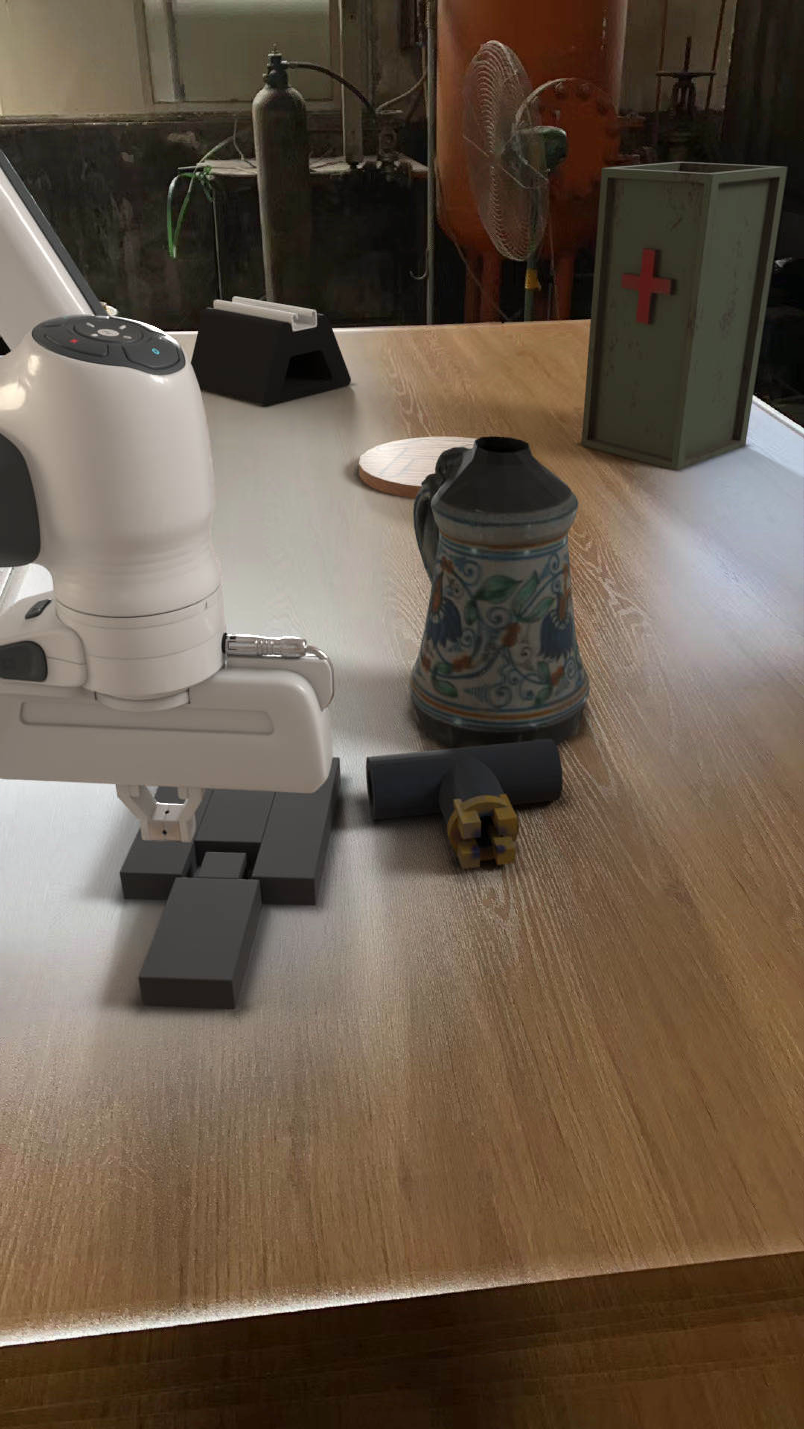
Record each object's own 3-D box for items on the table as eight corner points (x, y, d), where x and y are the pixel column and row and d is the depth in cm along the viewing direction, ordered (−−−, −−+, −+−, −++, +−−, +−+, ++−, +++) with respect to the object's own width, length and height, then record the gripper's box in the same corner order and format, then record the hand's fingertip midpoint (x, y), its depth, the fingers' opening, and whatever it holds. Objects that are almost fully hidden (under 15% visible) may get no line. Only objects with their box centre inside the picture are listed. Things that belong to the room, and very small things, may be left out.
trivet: (342, 495, 155) (342, 482, 154) (377, 445, 176) (376, 433, 175) (518, 504, 151) (518, 491, 150) (531, 451, 172) (532, 440, 171)
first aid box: (581, 445, 175) (601, 168, 155) (650, 423, 186) (678, 161, 166) (676, 470, 163) (712, 174, 143) (745, 446, 174) (787, 166, 154)
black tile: (142, 1006, 70) (137, 977, 68) (189, 877, 81) (185, 850, 79) (235, 1009, 69) (232, 980, 68) (269, 880, 80) (266, 853, 79)
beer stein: (545, 778, 92) (564, 491, 79) (349, 722, 100) (338, 455, 87) (612, 694, 104) (637, 434, 92) (432, 651, 112) (433, 407, 100)
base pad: (123, 899, 79) (119, 872, 77) (177, 777, 92) (173, 752, 91) (316, 906, 78) (314, 878, 77) (340, 781, 92) (339, 756, 90)
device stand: (262, 407, 198) (256, 320, 190) (187, 387, 211) (178, 306, 204) (351, 384, 212) (348, 303, 204) (275, 367, 225) (269, 290, 218)
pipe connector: (590, 802, 79) (387, 824, 77) (585, 861, 82) (388, 884, 80) (546, 726, 89) (365, 743, 87) (543, 780, 92) (367, 799, 90)
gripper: (339, 614, 62) (344, 813, 69) (-12, 601, 63) (28, 799, 70) (325, 666, 56) (332, 876, 63) (-59, 651, 58) (-11, 859, 64)
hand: (169, 835), depth 67 cm, fingers closed
